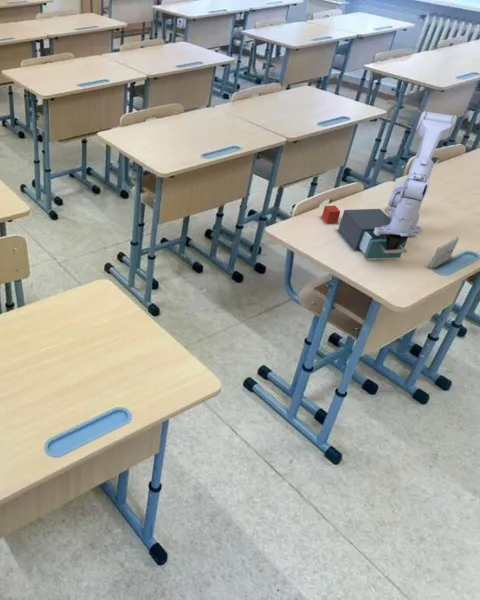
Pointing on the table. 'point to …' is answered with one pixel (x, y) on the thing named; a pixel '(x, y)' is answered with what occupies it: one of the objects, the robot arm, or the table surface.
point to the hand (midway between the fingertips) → (389, 252)
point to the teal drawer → (378, 246)
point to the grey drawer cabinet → (360, 224)
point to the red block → (330, 214)
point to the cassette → (443, 253)
